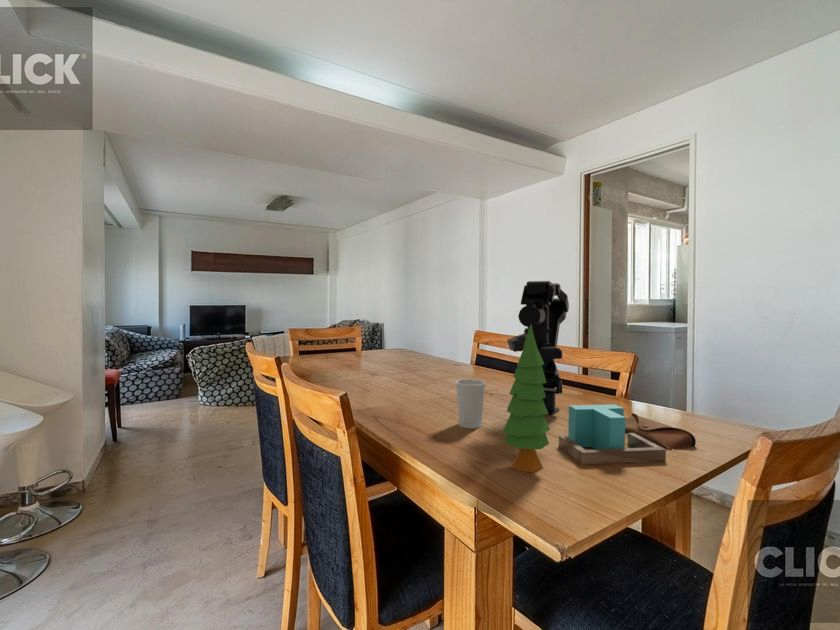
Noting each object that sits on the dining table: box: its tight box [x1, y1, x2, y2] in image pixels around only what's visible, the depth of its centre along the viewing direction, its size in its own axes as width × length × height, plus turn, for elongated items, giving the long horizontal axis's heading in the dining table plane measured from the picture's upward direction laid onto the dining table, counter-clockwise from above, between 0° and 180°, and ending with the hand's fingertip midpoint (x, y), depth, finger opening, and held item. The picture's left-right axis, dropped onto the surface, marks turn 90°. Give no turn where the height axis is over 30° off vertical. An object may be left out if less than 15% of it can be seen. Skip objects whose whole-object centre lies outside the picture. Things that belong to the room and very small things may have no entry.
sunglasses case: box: [625, 413, 697, 451], centre depth 101 cm, size 18×7×7 cm, turn 21°
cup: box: [455, 378, 486, 430], centre depth 109 cm, size 8×8×12 cm
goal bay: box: [558, 433, 667, 466], centre depth 90 cm, size 11×19×2 cm, turn 96°
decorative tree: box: [502, 324, 551, 473], centre depth 82 cm, size 10×9×30 cm
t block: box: [567, 403, 626, 450], centre depth 92 cm, size 10×12×9 cm
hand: (537, 379), depth 113 cm, fingers closed
